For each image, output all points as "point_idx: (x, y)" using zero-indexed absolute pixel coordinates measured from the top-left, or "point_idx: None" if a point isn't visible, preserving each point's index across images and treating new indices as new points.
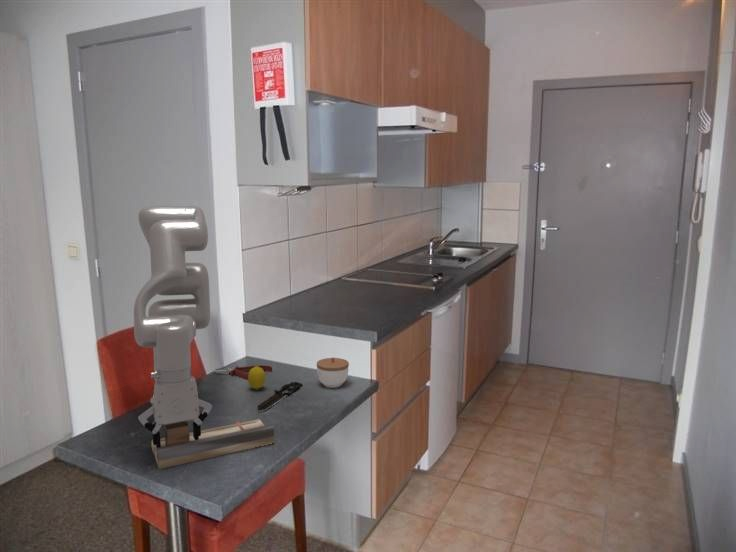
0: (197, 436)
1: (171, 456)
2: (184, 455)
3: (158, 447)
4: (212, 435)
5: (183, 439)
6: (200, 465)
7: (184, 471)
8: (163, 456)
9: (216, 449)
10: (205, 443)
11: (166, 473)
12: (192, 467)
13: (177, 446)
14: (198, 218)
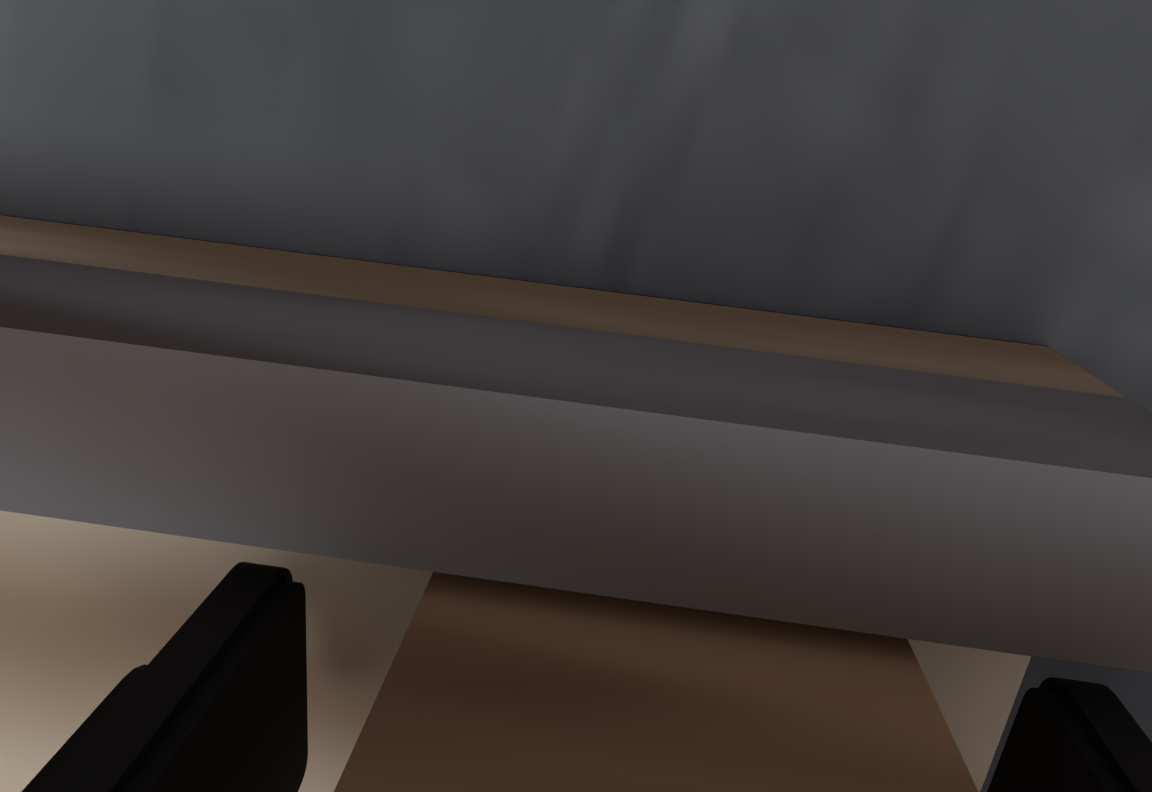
0: (213, 626)
1: (888, 379)
2: (627, 335)
3: (1102, 706)
4: (26, 737)
5: (552, 656)
6: (424, 71)
7: (732, 11)
8: (1066, 415)
9: (24, 254)
10: (121, 325)
11: (1019, 128)
12: (564, 80)
13: (764, 481)
14: None
